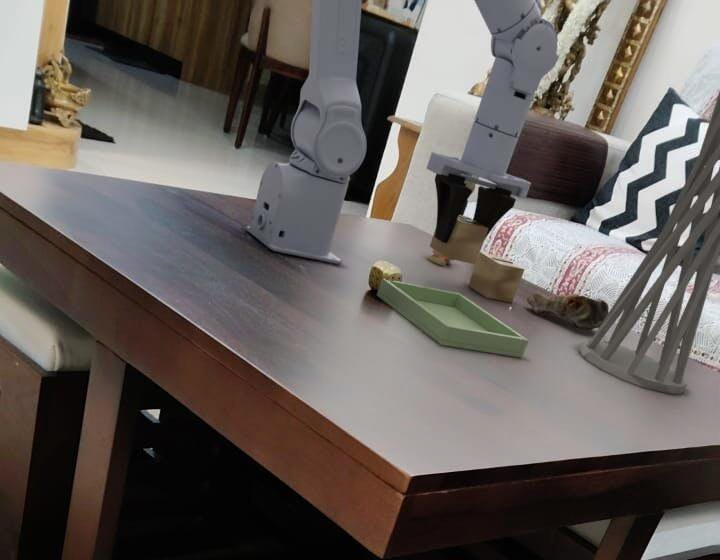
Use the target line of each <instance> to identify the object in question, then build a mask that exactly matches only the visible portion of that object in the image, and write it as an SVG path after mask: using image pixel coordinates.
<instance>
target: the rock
mask: <svg viewBox="0 0 720 560" xmlns="http://www.w3.org/2000/svg"><path fill="white" fill-rule="evenodd" d="M526 302H527V304H528V305H530V306H531V308H532V310H533V312H534V313H535V314H538V315H539V316H544V315H549V316H550V315H551V316H553V317H555V318H561V319H564V320H566V321H567V322H568V323H570V324H571V325H572V326H573V328H574V329H576V330H579V331H580V330H590V331H591V330H594V329H598V328H599V327H600V325H601V324H602V322H603V320H604V319H605V317H606V316H607V314H608V313H609V311H610V310H609V309H610V307H609V304H608V303H607V302H606V301H605V300H602V298H594V299H593V298H590V297H589V296H585V295H580V294H577V293H572V294H566V295H565V294H563V295H556V296H550V295H546V294H543V293H539V292H537V293H534V294H531V295H528V296H527V298H526Z"/></svg>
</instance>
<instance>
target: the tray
mask: <svg viewBox="0 0 720 560" xmlns="http://www.w3.org/2000/svg"><path fill="white" fill-rule="evenodd" d="M386 279H387V278H384V279H382V278H381V280H380V284H379V286H378V290H377V292H376V296H377V297H378V298H379V299H381V300H382V301H383V302H385V303H386V304H387V305H388V306H389V307H391V308H392V309H394V310H395V311H396V312H398V313H399V314H400V315H402V317H404V318H405V319H407V320H408V321H409V322H411V323H412V324H413V325H415V327H417V328H418V329H419V330H421V331H422V332H424V333H425V334H426V335H428V336H429V337H430V338H431V339H433V340H434V341H435V342H437V343H438V344H440V345H441V346H446V347H452V348H458V349H465V350H471V351H477V352H483V353H488V354H489V353H490V354H495V355H503V356H509V357H514V358H523V356H524V353H525V352H526V348H527V346H528V344H529V340H530V339H528V338H526V337H525V336H523V335H522V334H520V333H518V331H516V330H514V329H513V328H511V327H510V326H508V325H507V324H506V323H504V322H502V321H501V320H499V319H498V318H497V317H495V316H494V315H492V314H491V313H490V312H488V311H486V310H485V309H484V308H482V307H480V306H479V305H477V303H475V302H474V301H472V300H470V299H469V298H467V297H466V296H464V295H463V294H462V293H460V292H454V291H449V290H443V289H439V288H433V287H430V286H423V285H418V284H415V283H408V282H404V281H399V280H394V281H390V280H391V279H389V281H388V280H386Z"/></svg>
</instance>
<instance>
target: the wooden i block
mask: <svg viewBox="0 0 720 560" xmlns="http://www.w3.org/2000/svg"><path fill="white" fill-rule="evenodd" d="M525 270H526V269H525V268H523V267H522V266H521V265H519V264H517V263H515V262H513V261H511V259H508V258H506V257H503V256H499V255H495V254H490V253H486V252H482V251H480V253H479V256H478V259H477V262H476V264H474V268H473V270H472V273H471V277H470V279H469V282H468V285H467V286H468V287H469V288H470V289H472V290H474V291H475V292H477V293H478V294H480V295H481V296H483V297H484V298H486V299H490V300H495V301H501V302H506V303H511V304H512V303H513V301H514V298H515V296H516V294H517V291H518V288H519V285H520V283H521V280H522V277H523V276H524V273H525Z"/></svg>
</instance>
